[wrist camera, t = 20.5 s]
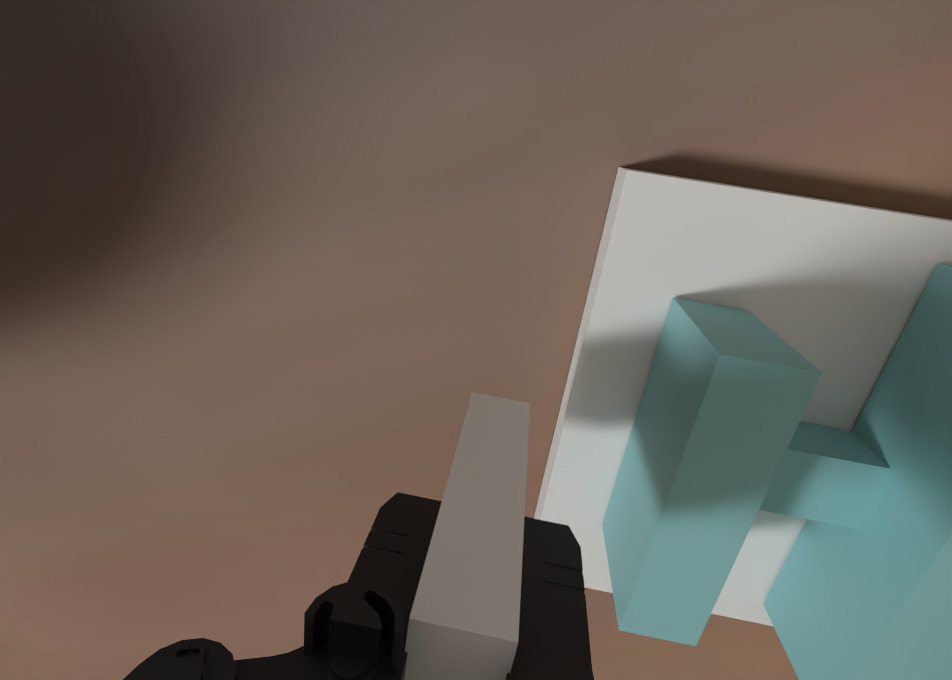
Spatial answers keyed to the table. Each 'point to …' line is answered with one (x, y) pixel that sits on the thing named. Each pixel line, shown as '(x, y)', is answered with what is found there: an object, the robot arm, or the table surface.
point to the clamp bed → (738, 286)
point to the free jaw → (792, 494)
